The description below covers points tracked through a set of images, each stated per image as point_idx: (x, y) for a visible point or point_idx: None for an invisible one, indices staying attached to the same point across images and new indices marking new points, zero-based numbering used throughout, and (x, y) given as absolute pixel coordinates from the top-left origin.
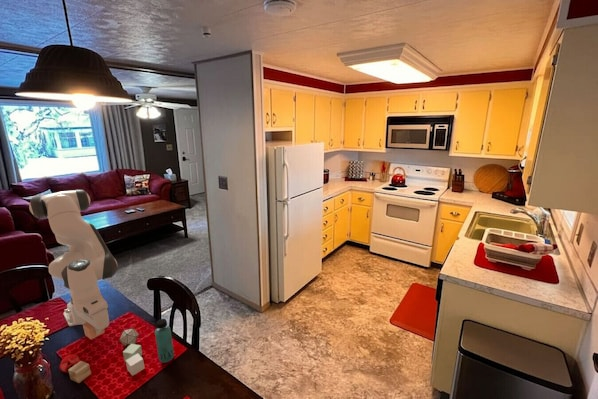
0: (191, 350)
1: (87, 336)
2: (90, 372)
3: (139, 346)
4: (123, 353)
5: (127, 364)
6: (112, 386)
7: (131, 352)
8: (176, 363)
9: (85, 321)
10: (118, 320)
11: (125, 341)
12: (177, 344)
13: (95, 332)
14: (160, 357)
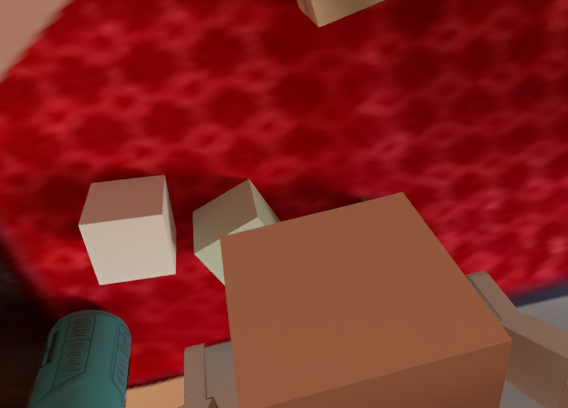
0: None
1: (331, 214)
2: (300, 8)
3: None
4: (252, 212)
5: (138, 207)
6: (76, 81)
7: (211, 250)
8: (37, 343)
9: (562, 360)
10: None
11: None
12: (170, 367)
13: (219, 358)
14: (62, 338)
